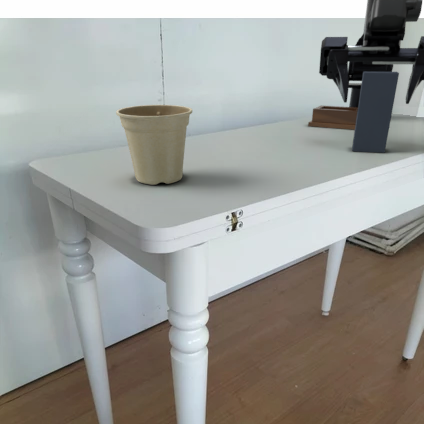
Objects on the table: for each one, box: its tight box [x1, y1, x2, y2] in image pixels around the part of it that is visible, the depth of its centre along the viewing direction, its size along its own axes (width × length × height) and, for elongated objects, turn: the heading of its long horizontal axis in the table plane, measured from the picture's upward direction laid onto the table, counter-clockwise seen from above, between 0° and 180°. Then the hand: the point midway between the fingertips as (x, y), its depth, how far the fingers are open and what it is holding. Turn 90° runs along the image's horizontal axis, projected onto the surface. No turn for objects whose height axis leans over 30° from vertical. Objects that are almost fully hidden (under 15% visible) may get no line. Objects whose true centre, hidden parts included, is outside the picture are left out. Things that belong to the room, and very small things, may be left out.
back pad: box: [351, 71, 400, 154], centre depth 71 cm, size 2×5×12 cm, turn 76°
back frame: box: [307, 105, 358, 131], centre depth 93 cm, size 7×10×3 cm
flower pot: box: [115, 104, 193, 186], centre depth 58 cm, size 9×9×9 cm
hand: (376, 101), depth 70 cm, fingers open, 9 cm apart
